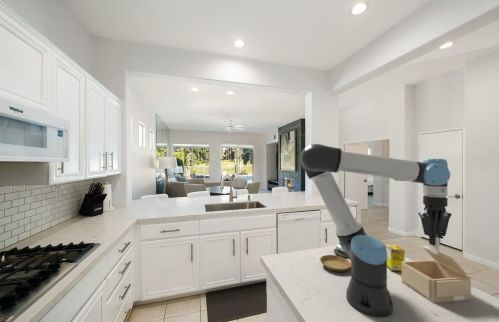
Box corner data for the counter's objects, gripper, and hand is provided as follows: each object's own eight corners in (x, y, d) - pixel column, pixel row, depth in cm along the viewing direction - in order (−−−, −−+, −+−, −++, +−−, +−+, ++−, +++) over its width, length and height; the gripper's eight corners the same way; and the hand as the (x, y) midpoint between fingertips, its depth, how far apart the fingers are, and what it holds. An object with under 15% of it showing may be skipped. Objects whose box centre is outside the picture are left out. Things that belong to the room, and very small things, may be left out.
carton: (433, 305, 76) (433, 281, 76) (398, 281, 91) (398, 261, 91) (473, 302, 77) (473, 278, 77) (432, 278, 93) (432, 259, 93)
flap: (451, 259, 78) (452, 257, 78) (422, 246, 90) (423, 245, 90) (465, 275, 79) (467, 273, 79) (434, 260, 91) (436, 258, 91)
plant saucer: (329, 275, 96) (329, 269, 96) (315, 260, 111) (315, 255, 111) (357, 273, 98) (357, 267, 98) (340, 258, 113) (340, 254, 113)
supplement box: (405, 272, 98) (404, 250, 98) (391, 271, 99) (391, 249, 99) (398, 266, 104) (398, 245, 104) (385, 265, 105) (385, 244, 105)
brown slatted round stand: (361, 255, 117) (360, 241, 117) (345, 259, 112) (345, 244, 112) (344, 247, 128) (344, 234, 128) (329, 250, 123) (329, 237, 123)
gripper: (429, 197, 80) (429, 257, 80) (458, 197, 81) (458, 256, 81) (412, 194, 87) (412, 249, 87) (439, 194, 89) (439, 248, 89)
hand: (434, 252), depth 84 cm, fingers closed
